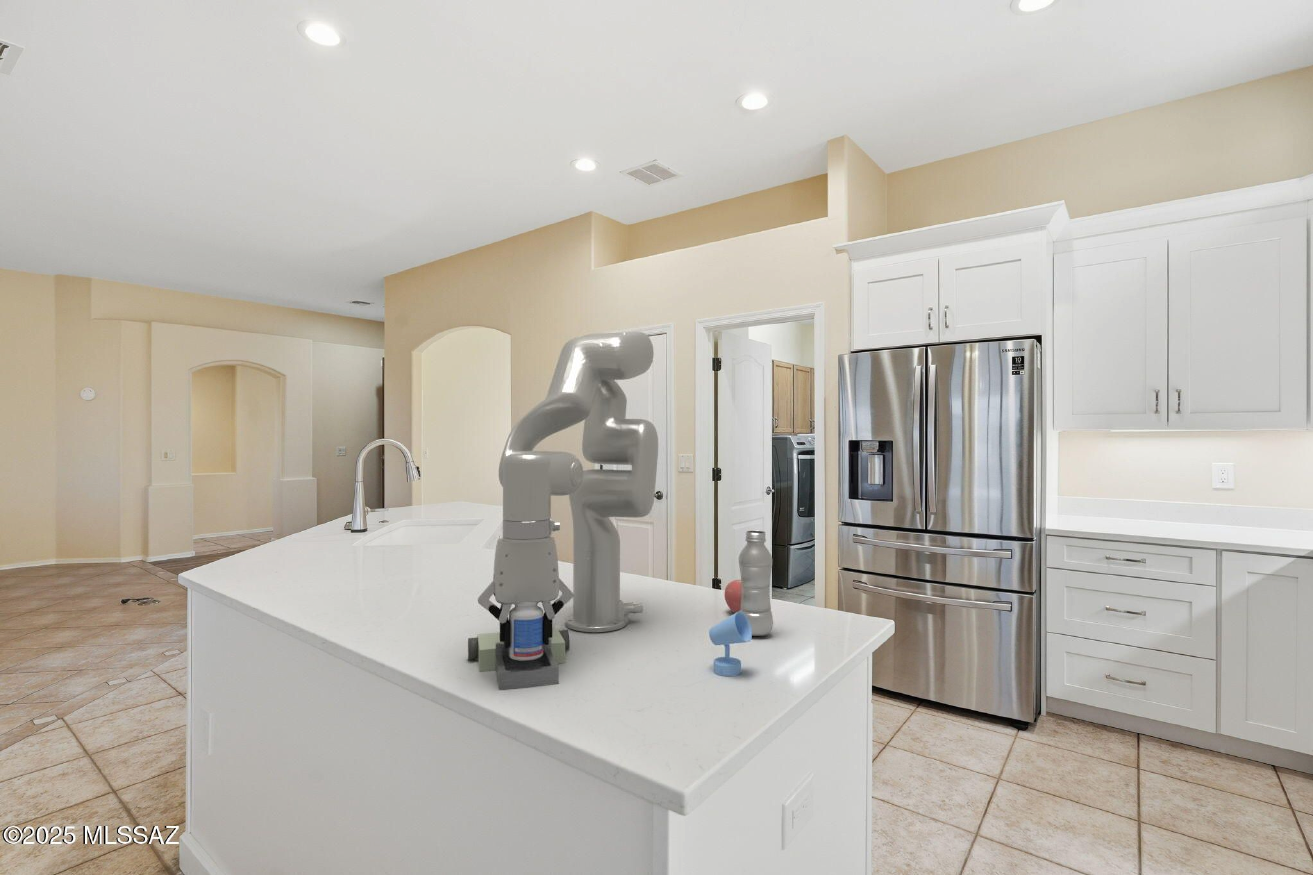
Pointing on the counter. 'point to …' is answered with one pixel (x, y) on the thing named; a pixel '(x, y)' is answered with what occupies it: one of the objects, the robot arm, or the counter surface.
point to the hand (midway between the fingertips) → (526, 643)
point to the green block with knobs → (485, 643)
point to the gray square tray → (525, 669)
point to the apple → (734, 595)
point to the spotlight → (730, 642)
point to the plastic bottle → (756, 583)
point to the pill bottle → (526, 631)
